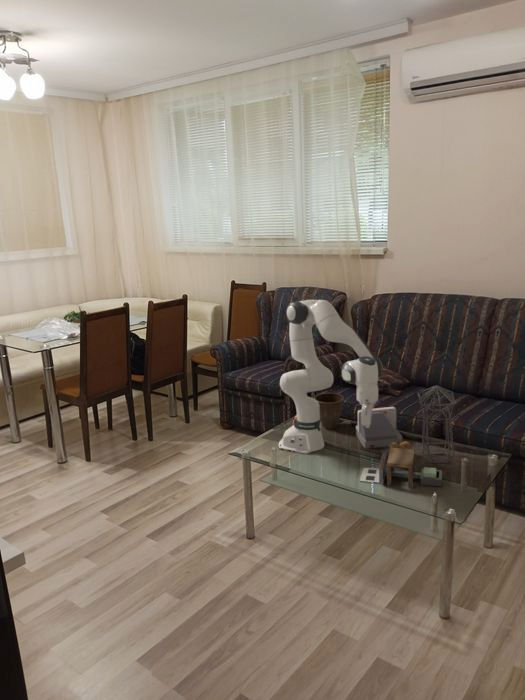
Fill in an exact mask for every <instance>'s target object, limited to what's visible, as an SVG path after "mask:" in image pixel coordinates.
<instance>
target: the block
mask: <svg viewBox="0 0 525 700" xmlns="http://www.w3.org/2000/svg"><path fill="white" fill-rule="evenodd" d="M423 469H424V472H423V477H429V478H436V470H437V467H426V466H425V467H423Z"/></svg>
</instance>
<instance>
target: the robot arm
mask: <svg viewBox="0 0 525 700" xmlns="http://www.w3.org/2000/svg"><path fill="white" fill-rule="evenodd" d="M286 307H287V308H286V311H285V314H286V318H287V320H288V322H289V327H288V328H289V330H288V334H289V345H290V351H291V353H290V354H291V358H292V359H293V360H295V361H296V362H299V363H301V364H303V365H304V366H305V369H298V370H297V369H296V370H291V371H288V372H287V371H286V372H285V373H283V374H282V375H281V377H280V380H279V387H280V389H281V391H282V392H283V393H284V394H286V395H288V396H289V397H290V398H291V399H292V400H293V402H294V405H295V409H296V415H295V416H293V421H292V426H290V427H289V428H287V429H286V430H285V432H284V433H283V436H282V438H281V439H280V440H279V442H278V445H277V446H279V448H283V449H287V450H291V451H290V452H293V451H295V452H294V453H298V454H304V455H305V454H309V453H312V452H317V451H320V450H322V449H323V448H324V447H325V441H324V439H323V434H322V427H323V426H322V423H321V418H320V407H319V403H318V401H317V400H315V397H314V398H313V397H310V396H308V393H311V392H312V393H313V392H317V391H323V390H326V389H329V388H331V387H332V385H333V383H334V374H333V373H332V371H331V370H330V368H328V367H326V366H325V365H324V364H323V363H321V361H320V360H319V358H318V356H317V353H316V350H315V349H316V348H315V344H314V337H313V327H314V325H315V326H316V328H317V330H318V333H319V334H320V336H321V337H322V338H323V339H324V340H326V341H327V342H332V343H339V344H345V345H348V346H349V347H351V348H352V349H353V350H354V352H355V353H356V354H357V356H358V357H359V358H357V359H353V360H348V361H345V362H344V363H343V364H342V366H341V368H340V369H341V370H340V376H341V379H342V380H343V381H344V382H346V383H348V384H350V385H356V401H358V402H359V404H360V405H361V410H362V425H365V427H366V428H369V427H370V425H371V418H372V409H374V408H373V407H374V406H375V404H376V403H377V402H378V401H379V386H378V381H379V378H380V377H381V376H382V375H383V371H384V366H383V362H382V361H381V360H380V358H379V357H378V356H377V355H375V354H374V352H373V351H372V350H371V349H370V347H369V346H368V345H367V343H366V342H365V340H363V338H362V337H361V336H360V334H359V333H358V332H357V331H356V330H355V329H354V328H352V327H350V326H349V325H348V324H347V323H346V322H344V320H343V319H342V318H341V317H340V314H339V313H338V311H337V309H336V308H335V307H334V306H333V305H332V303H331V302H329V300H326V299H306V300H298V301H297V300H295V301H293V302H290V303H289V304H287V306H286ZM280 445H281V446H280ZM279 448H278V449H279ZM287 450H286V451H287Z"/></svg>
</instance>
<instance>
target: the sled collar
mask: <svg viewBox="0 0 525 700" xmlns="http://www.w3.org/2000/svg"><path fill="white" fill-rule="evenodd" d="M387 457H388V456H387V452H382V455H381V458H380V461H379V467H378V469H379V483H384V479H385V476H387V461H388V459H387ZM420 471H421V472H417V471H416V472H415V471H414V472H412V479H413V478H415V479H420V485H422V486H433V487H442V484H443V483H442V480H443V471H442V469H441V470H440V469H436V478H429V477H423V472H424V468H421V469H420ZM391 477H401V478H402V477H403V478H408V471H403V470H395V469H394V470H391Z"/></svg>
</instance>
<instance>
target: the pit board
mask: <svg viewBox="0 0 525 700" xmlns="http://www.w3.org/2000/svg"><path fill="white" fill-rule="evenodd" d="M360 481H368V482H377V483H376V484H378V483H379V484H380V482H379V468H373V467H372V468H371V467H363V469H362V473H361V475H360V479H359V482H360Z"/></svg>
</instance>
